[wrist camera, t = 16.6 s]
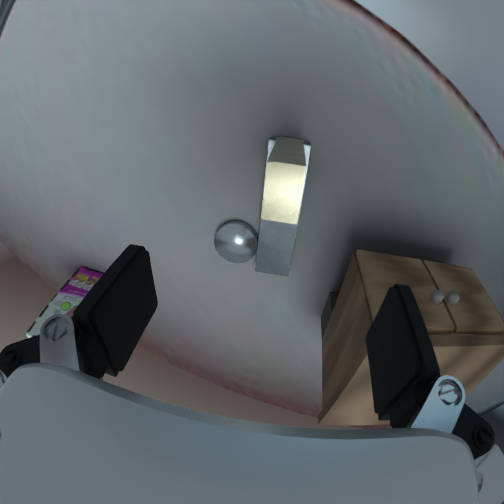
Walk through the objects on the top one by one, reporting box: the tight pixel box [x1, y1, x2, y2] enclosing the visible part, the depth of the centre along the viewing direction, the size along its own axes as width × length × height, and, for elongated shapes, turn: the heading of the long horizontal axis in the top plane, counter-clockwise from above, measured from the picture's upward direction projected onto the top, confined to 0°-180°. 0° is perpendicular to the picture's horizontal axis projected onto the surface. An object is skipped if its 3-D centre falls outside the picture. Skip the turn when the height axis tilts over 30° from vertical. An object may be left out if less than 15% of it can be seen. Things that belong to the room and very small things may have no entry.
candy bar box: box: [26, 266, 104, 338], centre depth 34 cm, size 11×5×16 cm, turn 82°
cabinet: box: [318, 249, 504, 425], centre depth 26 cm, size 17×16×16 cm
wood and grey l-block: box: [255, 136, 311, 276], centre depth 25 cm, size 4×16×12 cm, turn 176°
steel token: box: [214, 220, 259, 263], centre depth 32 cm, size 5×5×2 cm
